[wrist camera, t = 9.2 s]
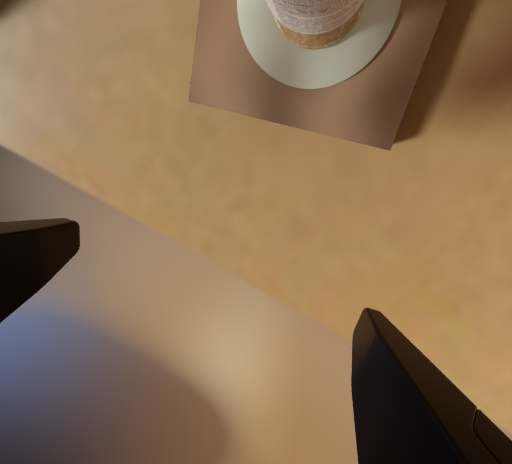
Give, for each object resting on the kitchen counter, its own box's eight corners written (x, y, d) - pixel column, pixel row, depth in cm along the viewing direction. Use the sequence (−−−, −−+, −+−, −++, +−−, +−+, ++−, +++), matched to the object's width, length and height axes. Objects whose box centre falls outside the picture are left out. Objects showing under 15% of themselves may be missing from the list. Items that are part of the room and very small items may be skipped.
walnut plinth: (480, -114, 14) (508, -153, 12) (383, 146, 19) (391, 151, 17) (234, -151, 15) (220, -193, 13) (200, 102, 20) (186, 101, 18)
